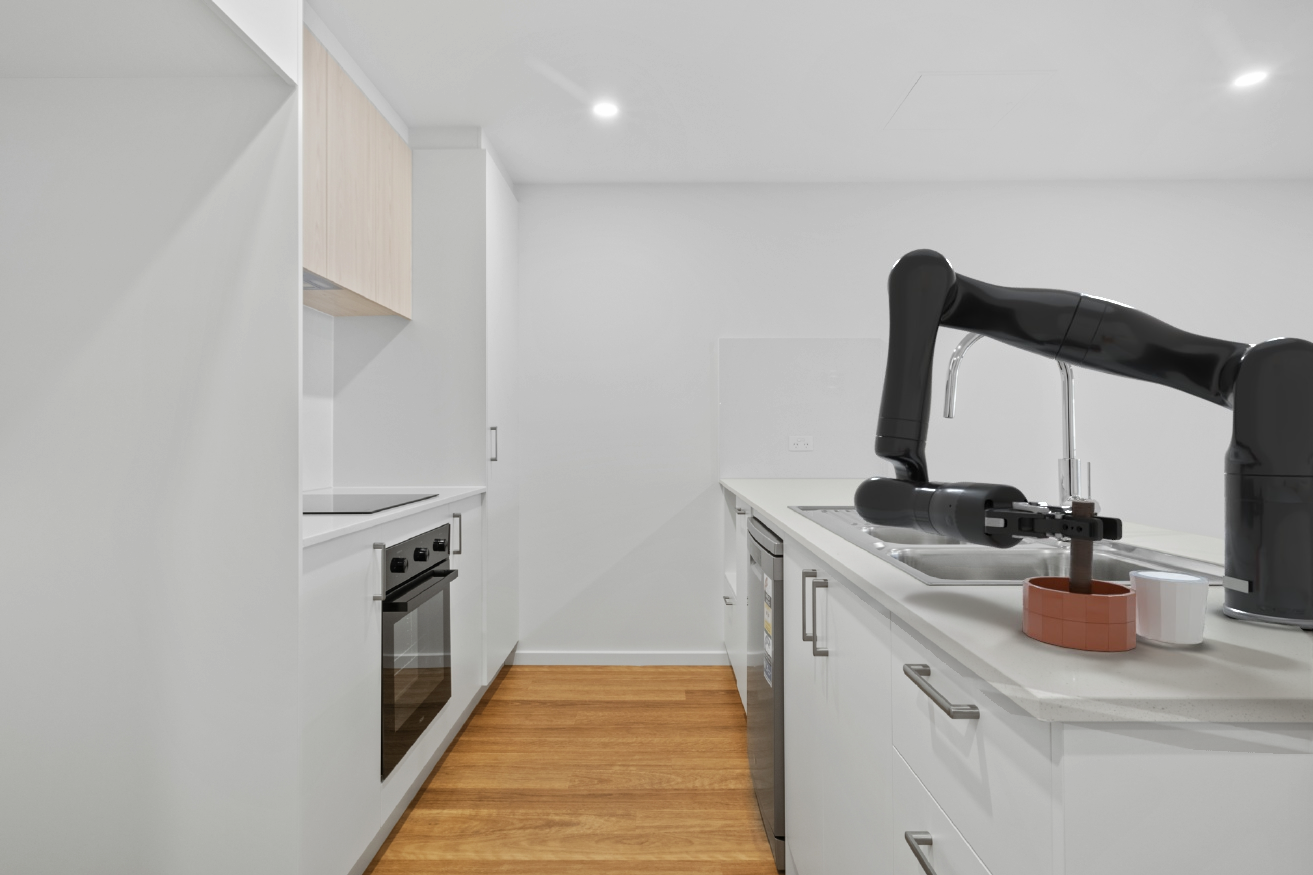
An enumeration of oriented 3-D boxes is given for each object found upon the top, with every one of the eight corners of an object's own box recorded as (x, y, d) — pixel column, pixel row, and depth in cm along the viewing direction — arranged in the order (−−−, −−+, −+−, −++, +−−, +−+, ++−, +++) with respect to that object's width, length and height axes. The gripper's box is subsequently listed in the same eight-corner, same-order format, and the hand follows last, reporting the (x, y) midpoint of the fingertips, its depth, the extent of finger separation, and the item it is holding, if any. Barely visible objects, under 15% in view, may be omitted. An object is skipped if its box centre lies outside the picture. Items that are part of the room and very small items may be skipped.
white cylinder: (1199, 637, 75) (1198, 572, 75) (1219, 654, 68) (1219, 583, 69) (1123, 629, 78) (1123, 567, 78) (1136, 645, 71) (1135, 577, 71)
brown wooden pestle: (1062, 632, 74) (1066, 499, 73) (1097, 638, 72) (1102, 501, 72) (1058, 639, 71) (1063, 501, 71) (1095, 645, 69) (1100, 504, 69)
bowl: (1029, 625, 79) (1029, 572, 79) (1136, 639, 74) (1136, 583, 74) (1017, 645, 71) (1017, 587, 71) (1135, 664, 65) (1135, 600, 65)
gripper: (931, 482, 83) (1057, 492, 66) (1021, 482, 87) (1160, 491, 71) (931, 545, 83) (1056, 571, 66) (1021, 541, 87) (1160, 564, 71)
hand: (1109, 529), depth 68 cm, fingers closed on brown wooden pestle, 2 cm apart
